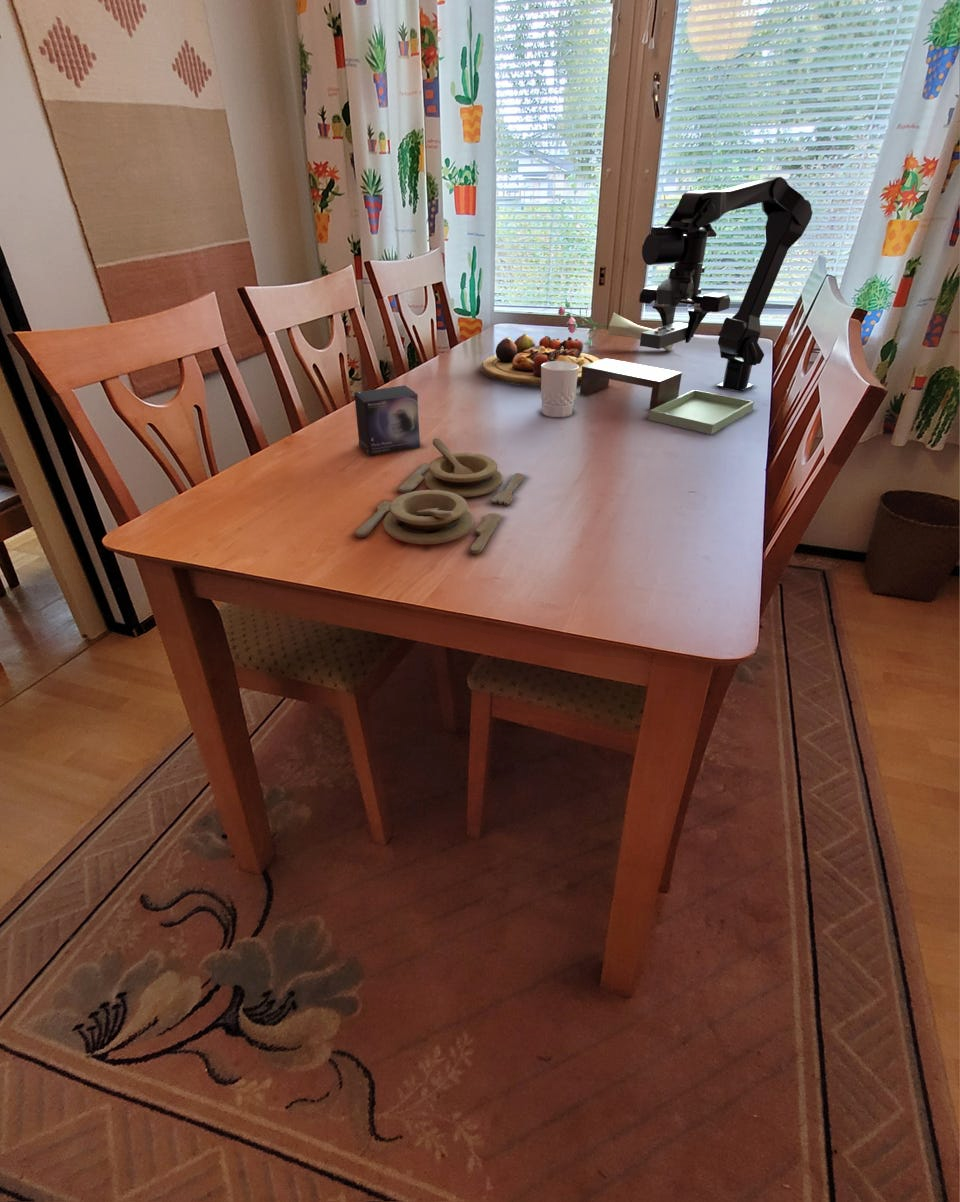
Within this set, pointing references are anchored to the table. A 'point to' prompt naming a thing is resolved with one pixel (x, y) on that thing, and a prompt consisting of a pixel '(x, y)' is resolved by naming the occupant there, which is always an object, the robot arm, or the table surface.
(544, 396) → the white cup
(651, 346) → the dark gray box
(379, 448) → the small box
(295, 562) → the table surface
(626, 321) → the flower vase
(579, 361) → the wooden plate
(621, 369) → the shelf
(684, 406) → the tray
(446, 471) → the tableware set
